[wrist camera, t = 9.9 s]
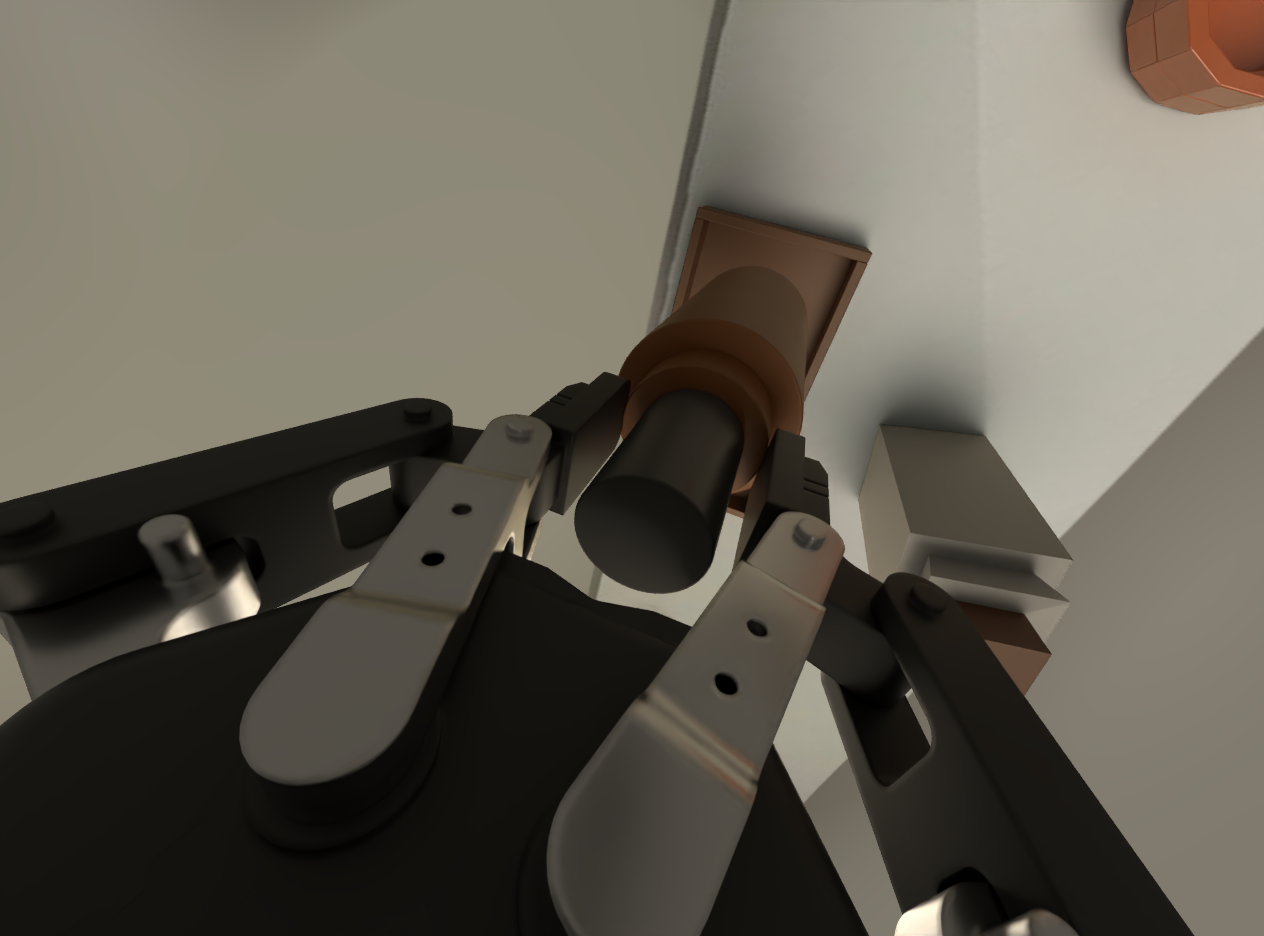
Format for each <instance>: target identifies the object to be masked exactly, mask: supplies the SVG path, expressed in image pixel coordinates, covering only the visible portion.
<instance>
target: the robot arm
mask: <svg viewBox="0 0 1264 936" xmlns="http://www.w3.org/2000/svg"><path fill="white" fill-rule="evenodd" d="M630 387H631V381H630V380H629V379H626V378H623V377H620V376H617V375H614V374H611V373H608V372H603V373H602V374H601V375H600V376H598V377H597V378H596V379H595V380H594V381H593V382H591V383H590V384H589V385H588V384H586V383H583V382H581V383H577V384H574V385H570V386H566V387H565V388H564V389H563V390H561V391H560V392H559V393H558V394H557V395H555V396H554V397H553V398H551V399H550V401H547V402H546V403H545V404H544V405H542V406H541V407H540V408H538V409H537V410H536V411H535V412H533V413H532V414H531V415H529V416H526V415H518V414H514V415H513V414H512V415H504V416H500V417H497V418H495V419H493V420H492V421H491V422H490V423H489V424H488V426H487V427H486V429H485V430H479V429H473V428H466V427H460V426H453V418H452V417H453V416H452V410H451V409H450V408H449V407H448V406H447V405H445V404H444V403H441V402H439V401H435V400H431V399H425V398H409V399H403V400H398V401H394V402H390V403H387V404H383V405H379V406H375V407H371V408H367V409H363V410H359V411H356V412H351V413H348V414H344V415H340V416H336V417H332V418H328V419H324V420H321V421H316V422H312V423H309V424H305V425H301V426H297V427H293V428H289V429H285V430H281V431H278V432H274V433H270V434H266V435H262V436H258V437H254V438H251V439H247V440H243V441H239V442H235V443H231V444H227V445H223V446H220V447H215V448H211V449H207V450H203V451H200V452H196V453H192V454H188V455H184V456H180V457H177V458H172V459H169V460H165V461H161V462H157V463H153V464H149V465H145V466H141V467H137V468H134V469H130V470H126V471H122V472H118V473H114V474H110V475H106V476H102V477H98V478H95V479H91V480H87V481H83V482H79V483H75V484H71V485H67V486H63V487H60V488H56V489H52V490H48V491H44V492H40V493H36V494H32V495H28V496H24V497H20V498H17V499H13V500H9V501H6V502H3V503H0V633H1V635H2V636H3V637H4V638H5V639H6V640H7V641H8V642H9V644H10V645H11V646H12V647H13V649H14V652H15V655H16V658H17V661H18V664H19V666H20V669H21V672H22V675H23V678H24V680H25V683H26V686H27V689H28V691H29V694H30V697H31V700H32V702H30V703H29V704H28V705H26V706H24V707H23V708H22V709H21V710H19V711H18V712H17V713H15V714H14V715H13V716H12V717H10V718H9V719H8V720H7V721H6V722H4V723H3V724H2V725H1V726H0V936H869V935H868V933H867V931H866V929H865V927H864V925H863V923H862V921H861V919H860V917H859V915H858V913H857V911H856V909H855V907H854V905H853V903H852V901H851V899H850V897H849V895H848V893H847V891H846V889H845V887H844V885H843V883H842V881H841V879H840V877H839V875H838V873H837V870H836V868H835V866H834V864H833V863H832V861H831V858H830V856H829V854H828V852H827V850H826V848H825V846H824V844H823V843H822V840H821V838H820V836H819V834H818V832H817V830H816V828H815V826H814V824H813V822H812V820H811V818H810V816H809V814H808V813H807V810H806V808H805V806H804V804H803V802H802V800H801V798H800V796H799V794H798V792H797V790H796V788H795V786H794V784H793V782H792V780H791V778H790V776H789V774H788V772H787V770H786V768H785V766H784V764H783V762H782V760H781V758H780V756H779V754H778V752H777V750H776V748H775V746H774V744H773V740H774V738H775V735H776V733H777V731H778V728H779V726H780V723H781V721H782V718H783V716H784V713H785V711H786V708H787V706H788V703H789V701H790V698H791V696H792V693H793V691H794V688H795V686H796V683H797V681H798V678H799V676H800V673H801V671H802V669H803V666H804V664H805V661H806V660H807V661H808V662H810V663H811V664H813V665H814V666H815V667H817V668H818V669H820V670H821V681H822V685H823V687H824V690H825V693H826V696H827V699H828V702H829V705H830V708H831V710H832V713H833V716H834V719H835V722H836V725H837V728H838V731H839V733H840V736H841V739H842V742H843V745H844V748H845V751H846V754H847V756H848V759H849V762H850V765H851V768H852V771H853V774H854V776H855V779H856V782H857V785H858V788H859V791H860V793H861V797H862V800H863V803H864V805H865V808H866V811H867V814H868V817H869V820H870V823H871V826H872V828H873V831H874V834H875V837H876V840H877V843H878V846H879V849H880V851H881V854H882V857H883V860H884V863H885V866H886V869H887V871H888V874H889V877H890V880H891V883H892V886H893V889H894V892H895V894H896V897H897V900H898V903H899V906H900V909H901V912H902V915H903V916H902V917H901V919H900V920H899V922H898V925H897V927H896V932H895V936H1194V935H1193V933H1192V932H1191V930H1190V929H1189V928H1188V926H1187V925H1186V923H1185V922H1184V921H1183V919H1182V918H1181V916H1180V915H1179V913H1178V912H1177V911H1176V909H1175V908H1174V906H1173V905H1172V904H1171V902H1170V901H1169V899H1168V898H1167V897H1166V895H1165V894H1164V893H1163V891H1162V890H1161V888H1160V887H1159V885H1158V884H1157V882H1156V881H1155V880H1154V878H1153V877H1152V875H1151V874H1150V873H1149V871H1148V870H1147V868H1146V867H1145V866H1144V864H1143V863H1142V861H1141V860H1140V859H1139V857H1138V856H1137V855H1136V853H1135V852H1134V850H1133V849H1132V847H1131V846H1130V845H1129V843H1128V842H1127V840H1126V839H1125V838H1124V836H1123V835H1122V833H1121V832H1120V830H1119V829H1118V828H1117V826H1116V825H1115V824H1114V822H1113V821H1112V819H1111V818H1110V816H1109V815H1108V814H1107V812H1106V811H1105V809H1104V808H1103V807H1102V805H1101V804H1100V802H1099V801H1098V799H1097V798H1096V797H1095V795H1094V794H1093V792H1092V791H1091V790H1090V788H1089V787H1088V785H1087V784H1086V783H1085V781H1084V780H1083V779H1082V777H1081V776H1080V774H1079V773H1078V771H1077V770H1076V768H1075V767H1074V766H1073V764H1072V763H1071V761H1070V760H1069V759H1068V757H1067V756H1066V754H1065V753H1064V752H1063V750H1062V749H1061V747H1060V746H1059V744H1058V743H1057V742H1056V740H1055V739H1054V737H1053V736H1052V735H1051V733H1050V732H1049V730H1048V729H1047V728H1046V726H1045V725H1044V723H1043V722H1042V721H1041V719H1040V718H1039V717H1038V715H1037V714H1036V712H1035V711H1034V709H1033V708H1032V706H1031V705H1030V704H1029V702H1028V701H1027V699H1026V698H1025V697H1024V695H1023V694H1022V692H1021V691H1020V690H1019V688H1018V687H1017V685H1016V684H1015V683H1014V681H1013V680H1012V678H1011V677H1010V676H1009V674H1008V673H1007V671H1006V670H1005V668H1004V667H1003V666H1002V664H1001V663H1000V661H999V660H998V659H997V657H996V656H995V654H994V653H993V652H992V650H991V649H990V647H989V646H988V645H987V643H986V642H985V640H984V639H983V637H982V636H981V635H980V633H979V632H978V630H977V629H976V628H975V626H974V625H973V623H972V622H971V621H970V619H969V618H968V616H967V615H966V614H965V612H964V611H963V609H962V608H961V607H960V605H959V604H958V603H957V602H956V601H955V600H954V599H953V598H952V596H950V595H949V594H948V593H947V592H946V591H944V590H943V589H942V588H940V587H939V586H937V585H936V584H934V583H933V582H931V581H929V580H927V579H925V578H923V577H920V576H917V575H914V574H911V573H905V572H896V573H892V574H890V575H889V576H888V577H887V578H886V580H885V581H884V582H883V583H882V582H880V581H879V580H877V579H875V578H873V577H872V576H870V575H868V574H867V573H865V572H863V571H862V570H860V569H858V568H857V567H855V566H854V565H853V564H851V563H850V562H849V561H848V560H846V559H845V558H844V557H843V554H844V551H845V545H844V542H843V540H842V538H841V537H840V535H839V534H838V533H837V532H836V531H835V530H834V529H833V528H832V527H831V526H830V511H829V498H828V497H829V489H828V474H827V473H826V471H825V470H824V468H823V467H822V465H821V464H820V462H819V461H816V460H813V459H810V458H807V457H805V437H803V436H800V435H797V434H794V433H791V432H788V431H785V430H782V429H779V428H777V429H776V431H775V432H774V435H773V437H772V439H771V441H770V444H769V446H768V449H767V452H766V455H765V457H764V459H763V462H762V464H761V466H760V469H759V471H758V472H757V474H756V477H755V479H754V482H753V484H752V487H751V490H750V493H749V497H748V501H747V505H746V510H745V514H744V519H743V523H742V528H741V533H740V537H739V542H738V546H737V551H736V555H735V560H734V564H733V569H732V573H731V574H730V575H729V577H728V578H727V580H726V581H725V582H724V584H723V585H722V586H721V588H720V589H719V591H718V592H717V593H716V595H715V596H714V598H713V599H712V600H711V602H710V603H709V604H708V606H707V607H706V609H705V610H704V611H703V613H702V614H701V615H700V617H699V618H698V620H697V621H696V622H695V624H694V625H693V627H691V626H688V625H686V624H683V623H681V622H678V621H676V620H674V619H671V618H669V617H666V616H664V615H661V614H659V613H657V612H654V611H649V610H644V609H638V608H633V607H628V606H622V605H617V604H612V603H606V602H601V601H597V600H594V599H592V598H590V597H589V596H587V595H586V594H584V593H583V592H581V591H580V590H579V589H577V588H576V587H574V586H573V585H572V584H570V583H568V582H567V581H566V580H564V579H563V578H562V577H560V576H559V575H557V574H556V573H555V572H553V571H552V570H550V569H549V568H547V567H545V566H542V565H540V564H538V563H535V562H533V561H530V559H531V556H532V553H533V550H534V547H535V544H536V541H537V539H538V536H539V532H540V530H541V525H542V517H543V516H544V515H545V514H546V513H547V511H548V510H550V511H553V512H555V513H558V514H560V515H564V514H565V512H566V511H567V510H568V508H569V507H570V506H571V505H572V503H573V502H574V501H575V499H576V498H577V497H578V496H579V494H580V493H581V492H582V490H583V489H584V488H585V487H586V485H587V484H588V483H589V481H590V480H591V479H592V478H593V476H594V475H595V474H596V472H597V471H598V470H599V469H600V467H601V466H602V465H603V463H604V462H605V461H606V460H607V458H608V457H609V456H610V454H611V453H612V452H613V450H614V449H615V447H616V445H617V443H618V440H619V438H620V434H621V431H622V421H623V414H624V410H625V406H626V403H627V401H628V398H629V393H630ZM387 466H389V472H390V480H391V488H389V489H386V490H384V491H381V492H379V493H376V494H374V495H371V496H368V497H366V498H363V499H361V500H358V501H356V502H353V503H351V504H348V505H345V506H343V507H340V508H338V509H335V510H334V507H333V502H332V499H333V495H334V493H335V491H336V490H337V488H338V487H339V486H340V485H341V484H343V483H344V482H346V481H348V480H351V479H353V478H356V477H359V476H362V475H365V474H367V473H370V472H373V471H376V470H378V469H381V468H384V467H387ZM370 561H371V562H370ZM368 562H370V563H369V564H368V566H367V567H366V568H365V570H364V571H363V572H362V574H361V575H360V576H359V578H358V579H357V581H356V582H355V583H354V584H353V585H352V586H351V587H347V588H344V589H340V590H337V591H334V592H331V593H327V594H323V595H320V596H317V597H314V598H310V599H307V600H303V601H300V602H297V603H293V604H290V605H286V606H283V607H279V606H281V605H283V604H285V603H287V602H289V601H291V600H293V599H295V598H297V597H299V596H301V595H303V594H305V593H307V592H310V591H311V590H314V589H316V588H318V587H319V586H321V585H324V584H326V583H328V582H330V581H332V580H334V579H336V578H338V577H340V576H342V575H344V574H346V573H348V572H350V571H352V570H354V569H356V568H358V567H360V566H362V565H364V564H366V563H368ZM277 607H279V608H277ZM275 608H276V609H275ZM911 688H912V690H913V692H914V693H915V696H916V698H917V699H918V701H919V703H920V705H921V707H922V709H923V711H924V713H925V715H926V717H927V719H928V722H929V724H930V728H931V735H932V742H931V747H930V745H929V743H928V741H927V739H926V737H925V735H924V733H923V731H922V729H921V726H920V725H919V722H918V720H917V718H916V716H915V714H914V712H913V710H912V708H911V706H910V704H909V702H908V700H907V698H906V696H905V694H906V693H907V692H908V691H909V690H910V689H911Z"/></svg>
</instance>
